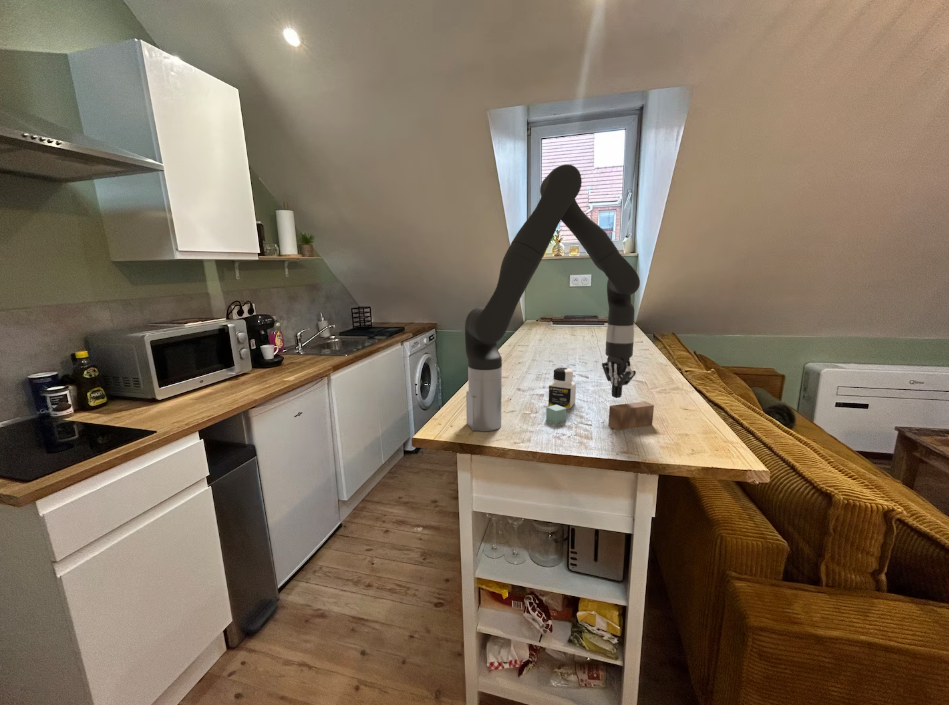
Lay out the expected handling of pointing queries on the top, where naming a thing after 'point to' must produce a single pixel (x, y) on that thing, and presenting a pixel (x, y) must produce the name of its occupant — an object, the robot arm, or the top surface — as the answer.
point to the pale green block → (556, 414)
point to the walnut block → (630, 415)
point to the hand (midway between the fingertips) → (616, 397)
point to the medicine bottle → (562, 388)
